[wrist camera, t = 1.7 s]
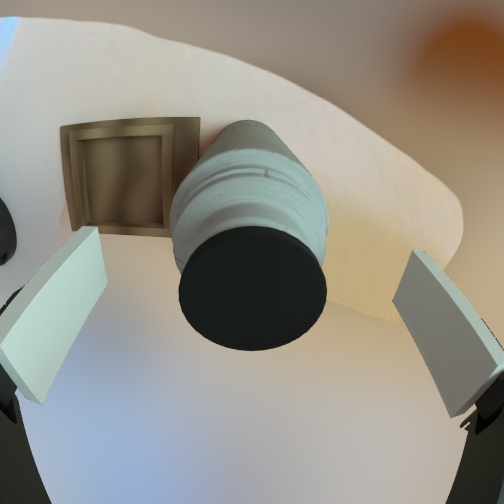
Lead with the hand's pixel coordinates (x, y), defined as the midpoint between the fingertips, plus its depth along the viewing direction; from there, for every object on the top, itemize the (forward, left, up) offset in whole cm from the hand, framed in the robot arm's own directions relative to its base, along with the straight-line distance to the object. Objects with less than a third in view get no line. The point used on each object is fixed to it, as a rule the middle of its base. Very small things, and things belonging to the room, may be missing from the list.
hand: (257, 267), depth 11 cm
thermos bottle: (0, 0, -26) cm, 26 cm away
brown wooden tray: (-16, -4, -26) cm, 31 cm away
